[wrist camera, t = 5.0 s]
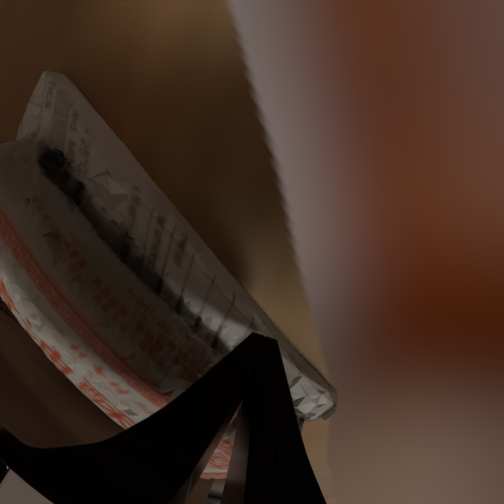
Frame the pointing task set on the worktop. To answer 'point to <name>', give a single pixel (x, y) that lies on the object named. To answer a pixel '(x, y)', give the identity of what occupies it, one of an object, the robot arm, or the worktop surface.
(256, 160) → the worktop surface
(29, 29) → the worktop surface
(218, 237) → the worktop surface
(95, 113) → the packaged product
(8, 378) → the brown piece
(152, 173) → the worktop surface
